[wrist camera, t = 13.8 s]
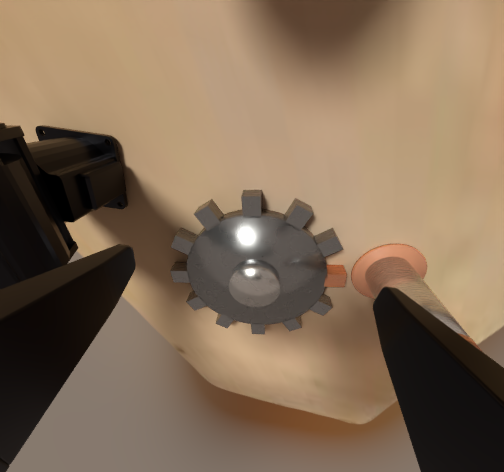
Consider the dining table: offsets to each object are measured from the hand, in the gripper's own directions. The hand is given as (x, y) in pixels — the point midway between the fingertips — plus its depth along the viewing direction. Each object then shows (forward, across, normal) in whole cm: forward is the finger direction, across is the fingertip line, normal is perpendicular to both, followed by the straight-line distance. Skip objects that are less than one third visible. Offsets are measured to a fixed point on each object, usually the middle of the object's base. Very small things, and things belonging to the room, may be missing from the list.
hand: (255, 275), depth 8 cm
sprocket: (+13, 0, +10) cm, 17 cm away
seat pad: (+13, -14, +8) cm, 21 cm away
